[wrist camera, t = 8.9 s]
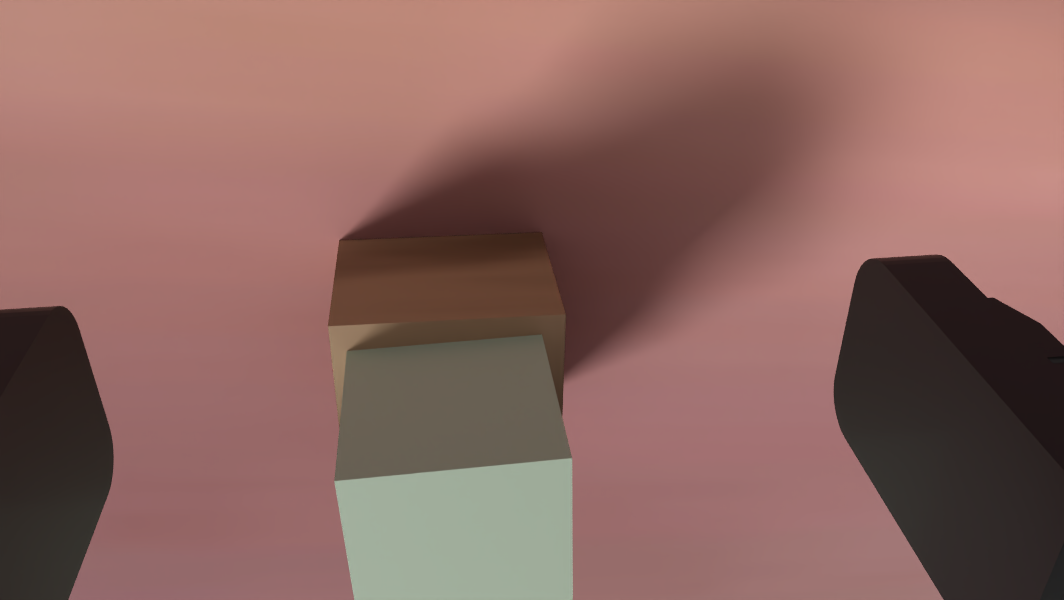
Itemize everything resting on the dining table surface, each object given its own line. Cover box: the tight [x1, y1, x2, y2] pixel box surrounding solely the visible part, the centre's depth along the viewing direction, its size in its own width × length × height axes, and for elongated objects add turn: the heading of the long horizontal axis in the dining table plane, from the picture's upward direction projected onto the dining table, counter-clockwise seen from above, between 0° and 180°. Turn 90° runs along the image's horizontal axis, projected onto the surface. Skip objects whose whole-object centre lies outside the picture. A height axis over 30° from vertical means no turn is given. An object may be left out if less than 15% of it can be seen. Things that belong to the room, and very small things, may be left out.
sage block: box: [334, 335, 573, 600], centre depth 23 cm, size 5×5×5 cm
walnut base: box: [328, 232, 566, 427], centre depth 27 cm, size 6×6×5 cm
